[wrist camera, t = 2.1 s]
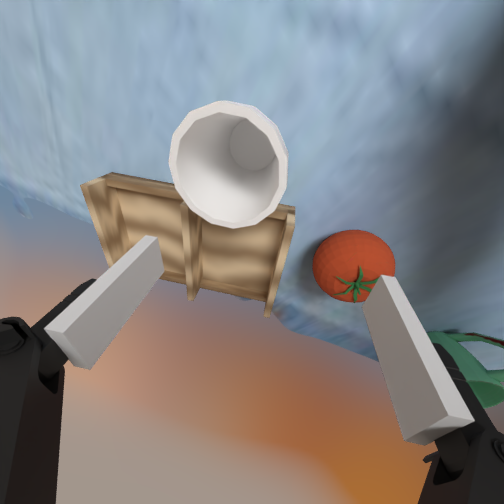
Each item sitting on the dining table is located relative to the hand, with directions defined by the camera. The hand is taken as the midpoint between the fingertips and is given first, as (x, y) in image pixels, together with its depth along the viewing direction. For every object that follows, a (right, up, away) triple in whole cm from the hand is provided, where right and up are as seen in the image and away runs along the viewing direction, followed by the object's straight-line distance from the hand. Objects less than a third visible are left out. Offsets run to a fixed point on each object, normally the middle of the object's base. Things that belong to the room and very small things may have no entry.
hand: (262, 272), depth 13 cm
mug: (+36, -14, +27) cm, 47 cm away
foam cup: (0, +15, +14) cm, 21 cm away
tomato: (+14, +2, +20) cm, 25 cm away
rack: (-9, +3, +24) cm, 26 cm away
